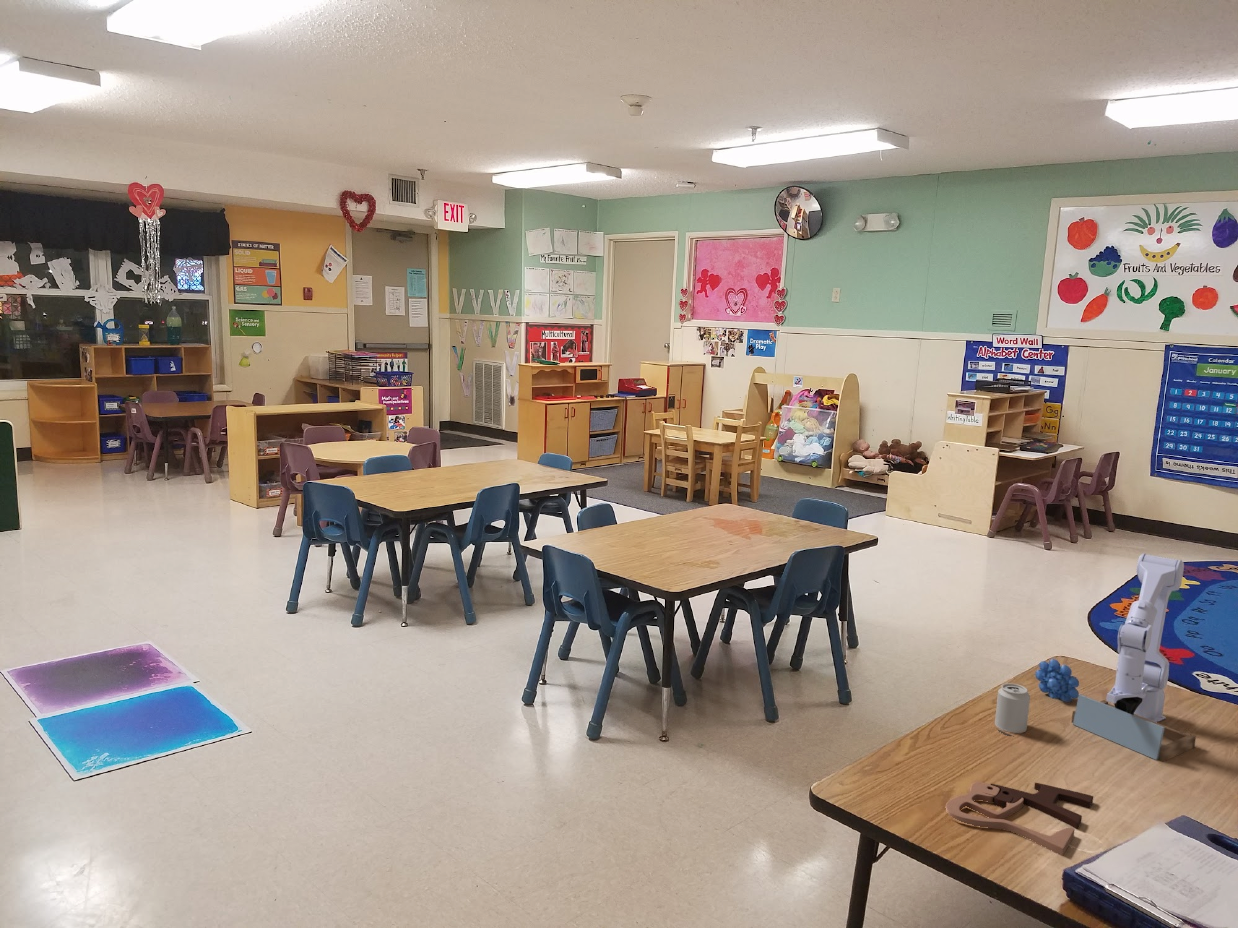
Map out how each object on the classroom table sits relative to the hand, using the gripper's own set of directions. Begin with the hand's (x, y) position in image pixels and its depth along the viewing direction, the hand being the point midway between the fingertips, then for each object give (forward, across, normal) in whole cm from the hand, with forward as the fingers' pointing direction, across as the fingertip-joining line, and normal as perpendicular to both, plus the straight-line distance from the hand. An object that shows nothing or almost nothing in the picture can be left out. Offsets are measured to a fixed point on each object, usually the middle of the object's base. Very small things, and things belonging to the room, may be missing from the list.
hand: (1123, 723), depth 224 cm
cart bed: (+5, +4, 0) cm, 7 cm away
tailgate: (+4, -3, 0) cm, 5 cm away
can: (+6, -19, +18) cm, 27 cm away
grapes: (+6, +7, +23) cm, 25 cm away
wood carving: (+6, -50, -6) cm, 50 cm away
